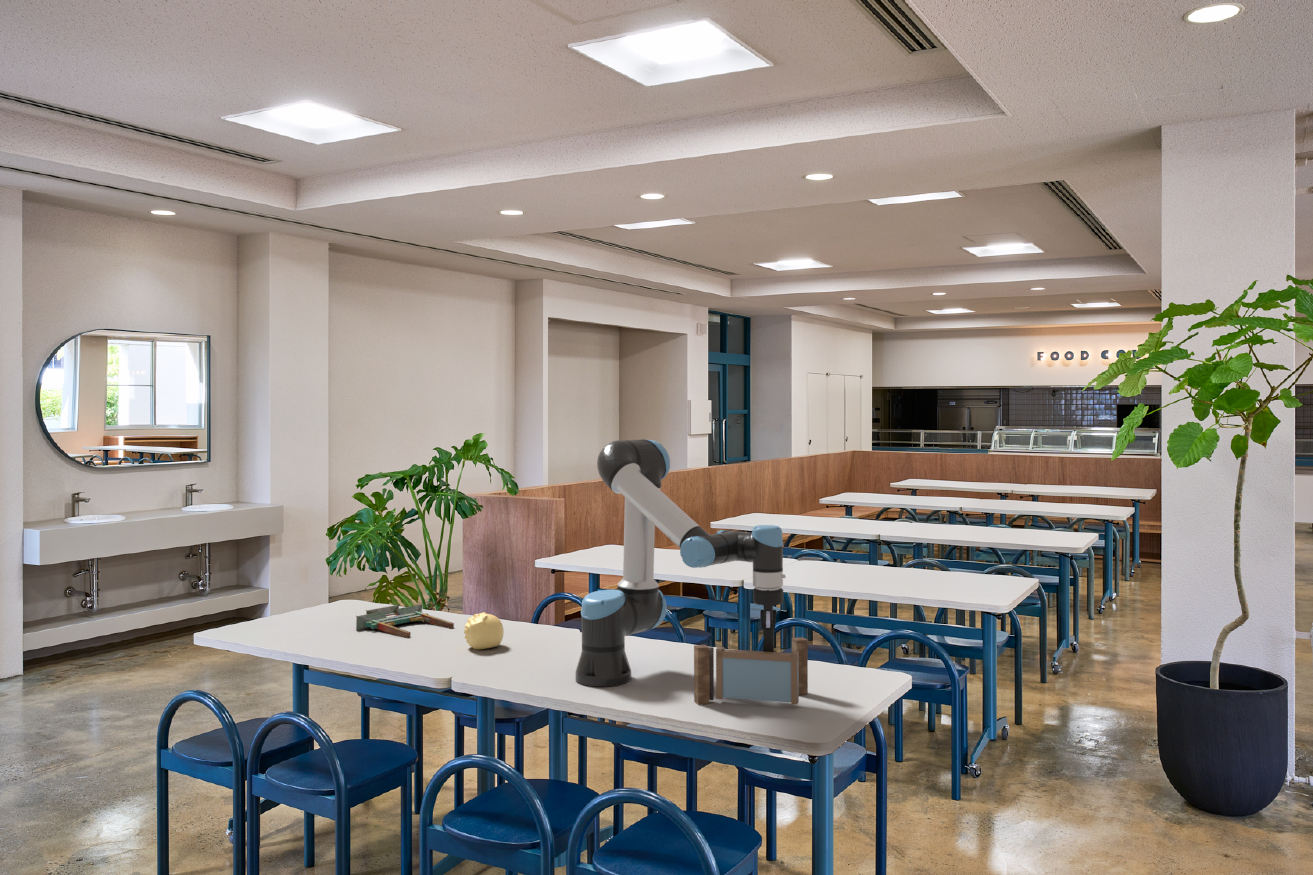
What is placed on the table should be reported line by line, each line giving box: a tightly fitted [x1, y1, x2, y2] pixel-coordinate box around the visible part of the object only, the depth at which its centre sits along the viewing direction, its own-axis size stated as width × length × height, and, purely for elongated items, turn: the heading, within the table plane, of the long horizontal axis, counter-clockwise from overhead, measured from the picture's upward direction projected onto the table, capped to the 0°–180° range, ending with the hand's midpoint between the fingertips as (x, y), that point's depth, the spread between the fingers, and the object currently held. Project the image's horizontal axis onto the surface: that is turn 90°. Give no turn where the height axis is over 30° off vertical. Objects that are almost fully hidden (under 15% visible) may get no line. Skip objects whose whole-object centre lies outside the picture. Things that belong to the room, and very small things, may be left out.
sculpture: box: [463, 611, 504, 650], centre depth 296 cm, size 12×12×11 cm
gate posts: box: [693, 636, 809, 706], centre depth 240 cm, size 30×3×14 cm, turn 106°
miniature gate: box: [355, 603, 455, 638], centre depth 326 cm, size 27×6×30 cm
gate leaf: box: [715, 646, 800, 706], centre depth 234 cm, size 20×3×12 cm, turn 75°
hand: (769, 681), depth 239 cm, fingers closed
